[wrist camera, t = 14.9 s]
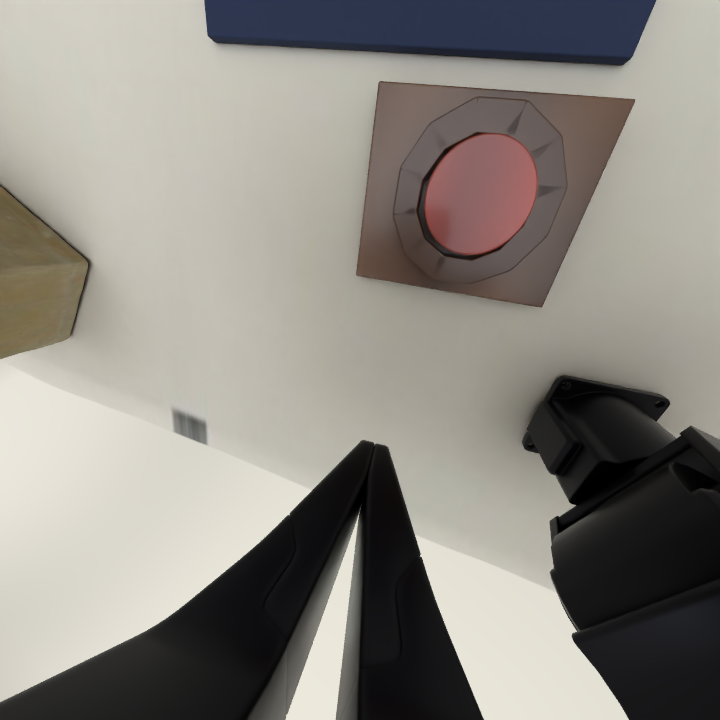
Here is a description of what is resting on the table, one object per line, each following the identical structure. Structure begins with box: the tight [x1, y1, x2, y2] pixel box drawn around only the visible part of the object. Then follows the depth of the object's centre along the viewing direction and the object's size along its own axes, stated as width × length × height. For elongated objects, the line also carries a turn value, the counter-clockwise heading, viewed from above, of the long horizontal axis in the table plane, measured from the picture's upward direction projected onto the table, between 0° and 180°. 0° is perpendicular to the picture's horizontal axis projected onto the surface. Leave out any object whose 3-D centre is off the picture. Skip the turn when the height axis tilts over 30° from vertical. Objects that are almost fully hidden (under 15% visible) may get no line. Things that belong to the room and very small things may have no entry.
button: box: [424, 133, 538, 255], centre depth 12 cm, size 4×4×2 cm
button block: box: [356, 81, 635, 307], centre depth 14 cm, size 11×9×3 cm
